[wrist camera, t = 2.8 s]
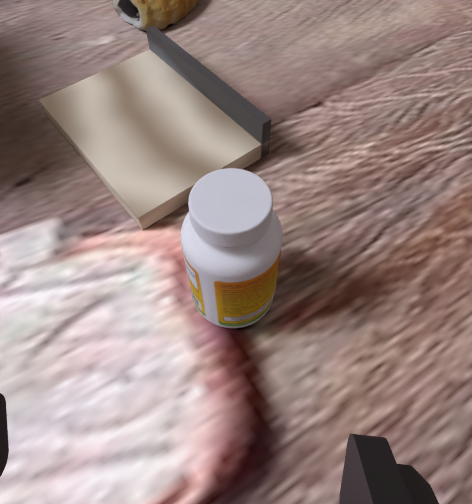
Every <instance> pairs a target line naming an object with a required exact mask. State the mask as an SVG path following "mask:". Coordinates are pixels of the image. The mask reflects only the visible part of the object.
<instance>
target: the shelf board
mask: <svg viewBox="0 0 472 504" xmlns="http://www.w3.org/2000/svg"><path fill="white" fill-rule="evenodd" d="M146 32H147V37H148V42H149V47H150V50H148V51H146V52H143V53H141V54H139V55H137V56H134V57H132V58H130V59H128V60H126V61H123V62H121V63H119V64H117V65H114V66H112V67H110V68H108V69H106V70H103V71H101V72H99V73H97V74H94V75H92V76H90V77H88V78H86V79H83V80H81V81H79V82H77V83H75V84H72V85H70V86H68V87H66V88H63V89H61V90H59V91H57V92H55V93H52V94H50V95H48V96H46V97H43V98H41V99H39V102H40V104H41V107H42V109H43V111H44V113H45V114H46V116H47V117H48V118H49V119H50V120H51V122H52V123H53V124H54V125H55V126H56V128H57V129H58V130H59V131H60V132H61V134H62V135H63V136H64V137H65V138H66V139H67V141H68V142H69V143H70V144H71V145H72V147H73V148H74V149H75V150H76V151H77V153H78V154H79V155H80V156H81V157H82V159H83V160H84V161H85V162H86V163H87V164H88V166H89V167H90V168H91V169H92V170H93V172H94V173H95V174H96V175H97V176H98V178H99V179H100V180H101V181H102V182H103V184H104V185H105V186H106V187H107V188H108V189H109V191H110V192H111V193H112V194H113V195H114V197H115V198H116V199H117V200H118V201H119V203H120V204H121V205H122V206H123V207H124V208H125V210H126V211H127V212H128V213H129V214H130V216H131V217H132V218H133V219H134V220H135V222H136V223H137V224H138V225H139V226H140V228H141V229H142V230H144V229H145V228H147V227H149V226H150V225H152V224H154V223H155V222H157V221H158V220H160V219H162V218H163V217H165V216H167V215H168V214H170V213H172V212H173V211H175V210H177V209H178V208H180V207H181V206H183V205H185V204H186V203H188V201H189V195H190V192H191V190H192V188H193V186H194V185H195V184H196V182H197V181H198V180H199V179H201V178H202V177H203V176H205V175H206V174H208V173H211V172H213V171H216V170H220V169H226V168H236V169H244V168H245V167H247V166H249V165H250V164H252V163H254V162H255V161H257V160H259V159H260V158H262V157H264V156H265V155H267V154H268V151H269V138H270V124H271V119H270V118H268V117H267V116H266V115H265V114H263V113H262V112H261V111H260V110H258V109H257V108H256V107H255V106H253V105H252V104H251V103H250V102H248V101H247V100H246V99H245V98H243V97H242V96H241V95H240V94H238V93H237V92H236V91H235V90H233V89H232V88H231V87H230V86H228V85H227V84H226V83H225V82H223V81H222V80H221V79H220V78H218V77H217V76H216V75H215V74H213V73H212V72H211V71H210V70H208V69H207V68H206V67H205V66H203V65H202V64H201V63H200V62H198V61H197V60H196V59H195V58H193V57H192V56H191V55H190V54H188V53H187V52H186V51H185V50H183V49H182V48H181V47H180V46H178V45H177V44H176V43H175V42H173V41H172V40H171V39H170V38H168V37H167V36H166V35H165V34H164V33H162V32H161V31H160V30H159V29H157V28H156V27H155V26H154V25H153V26H151V27H149V28H146Z"/></svg>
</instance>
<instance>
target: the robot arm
mask: <svg viewBox="0 0 472 504" xmlns="http://www.w3.org/2000/svg"><path fill="white" fill-rule="evenodd" d="M8 452H9V448H8V431H7V414H6V401H5V398H4V396H3V395H2V394H1V393H0V476H1V475H2V473H3V471H4V468H5V466H6V463H7V459H8ZM340 504H439V503H438V500H437V498H436V496H435V494H434V492H433V490H432V488H431V486H430V484H429V483H428V482H427V481H426V480H425V479H424V478H423V477H422V476H421V475H420V474H419V473H418V472H417V471H416V470H415V469H414V468H413V467H412V466H410V465H402V464H397V463H396V461H395V458H394V456H393V453H392V451H391V448H390V446H389V443H388V441H387V439H386V438H384V437H375V436H367V435H358V434H350V436H349V438H348V443H347V449H346V456H345V463H344V470H343V476H342V483H341V490H340Z"/></svg>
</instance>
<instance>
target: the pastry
mask: <svg viewBox="0 0 472 504" xmlns="http://www.w3.org/2000/svg"><path fill="white" fill-rule="evenodd" d="M198 2H199V0H114V1H113V7H114V9H115V11H116V12H117V13H118V14H119V16H120V17H121V19H122V20H123V21H124V22H127V23H129V24H132V25H134V26H135V27H137V28H138V29H140V30H144V31H146V28H149V27H151V26H153V25H154V26H155V27H156V28H157V29H159V30H161V29H165V28H166V26H167V25H169V24H171V23H173V24H175V23H177V22H178V21H180V20H181V19H182V18H183V17H185V16H186V15H187V14H188V13H189V12H191V11H192V10H193V9H194V8H195V7H196V6H197V4H198Z"/></svg>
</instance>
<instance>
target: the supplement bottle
mask: <svg viewBox="0 0 472 504" xmlns="http://www.w3.org/2000/svg"><path fill="white" fill-rule="evenodd" d="M188 205H189V212H188V214H187V215H186V217H185V220H184V222H183V225H182V229H181V245H182V251H183V255H184V259H185V264H186V269H187V274H188V278H189V283H190V288H191V292H192V297H193V300H194V303H195V305H196V307H197V309H198V311H199V312H200V313H201V315H202V316H203V317H204V318H206V319H207V320H208V321H210V322H211V323H213V324H215V325H218V326H221V327H225V328H241V327H246V326H249V325H251V324H253V323H255V322H257V321H258V320H260V319H261V318H262V317H263V316H264V315H265V314H266V313H267V311H268V310H269V309H270V307H271V305H272V302H273V299H274V295H275V289H276V282H277V274H278V267H279V261H280V254H281V247H282V228H281V224H280V221H279V219H278V217H277V215H276V213H275V212H274V210H273V198H272V193H271V191H270V189H269V187H268V185H267V184H266V183H265V181H264V180H262V179H261V178H260V177H259V176H257V175H256V174H254V173H252V172H249V171H246V170H242V169H236V168H226V169H220V170H216V171H213V172H211V173H208V174H206V175H205V176H203V177H202V178H201V179H199V180H198V181H197V182H196V184H195V185H194V186H193V188H192V190H191V192H190V195H189V201H188Z"/></svg>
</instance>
